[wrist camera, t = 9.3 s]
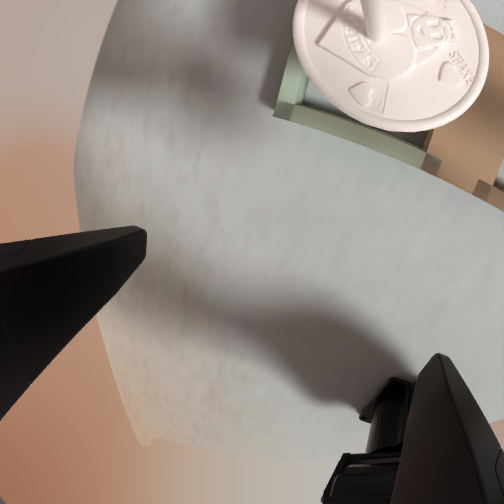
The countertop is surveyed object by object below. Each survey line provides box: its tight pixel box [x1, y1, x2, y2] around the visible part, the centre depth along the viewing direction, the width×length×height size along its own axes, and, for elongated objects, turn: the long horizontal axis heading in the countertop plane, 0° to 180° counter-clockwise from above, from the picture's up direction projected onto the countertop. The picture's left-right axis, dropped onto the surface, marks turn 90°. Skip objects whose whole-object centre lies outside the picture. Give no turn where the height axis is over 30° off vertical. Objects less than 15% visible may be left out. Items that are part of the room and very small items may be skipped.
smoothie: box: [293, 0, 489, 132], centre depth 9 cm, size 6×6×14 cm
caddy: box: [273, 24, 504, 212], centre depth 13 cm, size 10×22×2 cm, turn 76°
